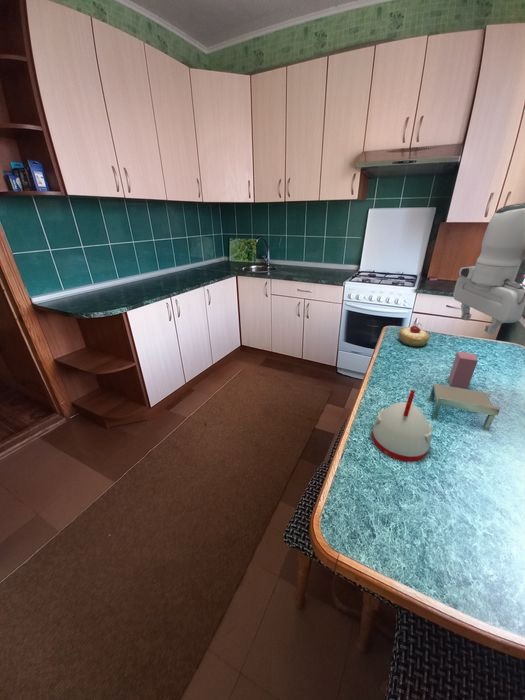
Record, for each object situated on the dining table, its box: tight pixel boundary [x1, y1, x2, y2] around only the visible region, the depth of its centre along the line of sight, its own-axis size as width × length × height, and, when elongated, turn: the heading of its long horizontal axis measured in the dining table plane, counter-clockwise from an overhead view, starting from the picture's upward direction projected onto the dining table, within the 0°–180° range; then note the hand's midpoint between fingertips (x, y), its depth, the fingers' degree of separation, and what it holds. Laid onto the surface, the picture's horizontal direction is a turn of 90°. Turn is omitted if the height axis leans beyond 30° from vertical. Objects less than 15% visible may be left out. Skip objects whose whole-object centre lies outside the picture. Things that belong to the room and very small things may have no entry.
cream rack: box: [428, 383, 501, 431], centre depth 84 cm, size 14×11×8 cm
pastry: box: [398, 322, 431, 348], centre depth 127 cm, size 12×12×9 cm
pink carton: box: [447, 351, 479, 390], centre depth 98 cm, size 5×5×11 cm
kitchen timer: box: [371, 389, 433, 462], centre depth 74 cm, size 14×14×15 cm
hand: (476, 325), depth 80 cm, fingers open, 8 cm apart
